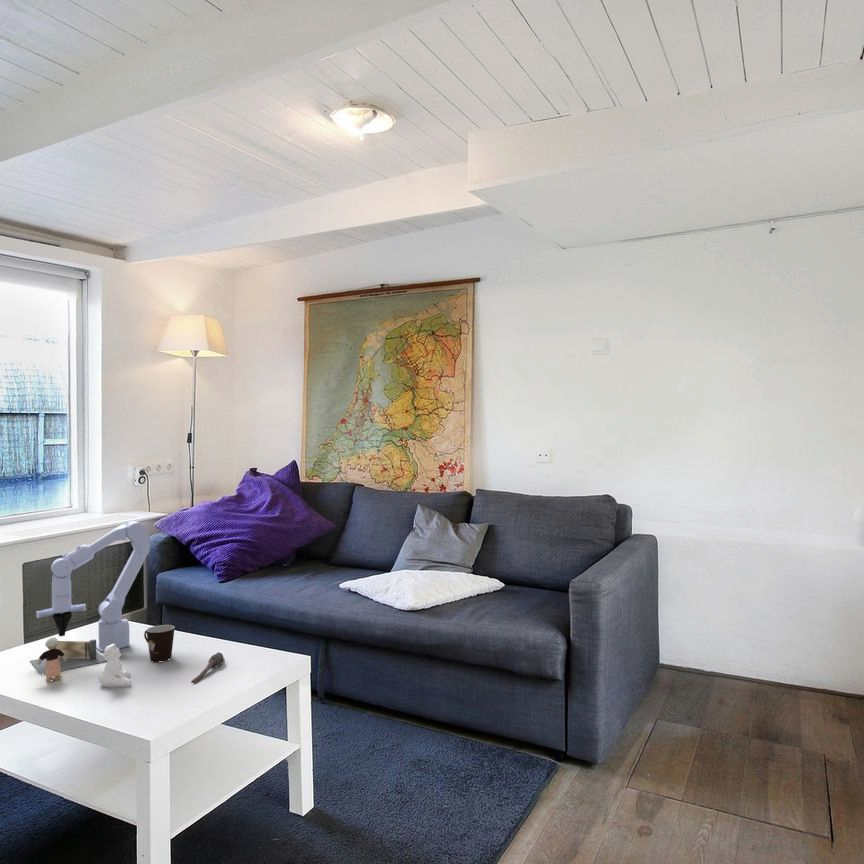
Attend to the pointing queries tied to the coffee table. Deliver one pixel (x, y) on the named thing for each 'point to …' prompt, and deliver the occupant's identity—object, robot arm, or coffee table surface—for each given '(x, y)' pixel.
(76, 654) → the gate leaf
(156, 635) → the coffee mug
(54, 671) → the grandmother figurine
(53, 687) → the coffee table surface
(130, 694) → the coffee table surface
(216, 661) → the natural artifact
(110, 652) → the sitting furry creature
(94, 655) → the gate frame
